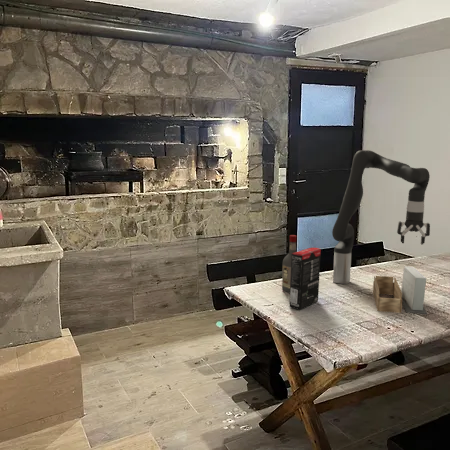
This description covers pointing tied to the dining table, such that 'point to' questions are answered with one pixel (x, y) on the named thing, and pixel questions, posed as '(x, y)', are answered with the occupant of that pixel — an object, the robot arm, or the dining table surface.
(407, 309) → the mat
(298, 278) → the graphics card box
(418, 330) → the dining table surface
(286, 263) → the liquor
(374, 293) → the carton
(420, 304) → the skincare box
